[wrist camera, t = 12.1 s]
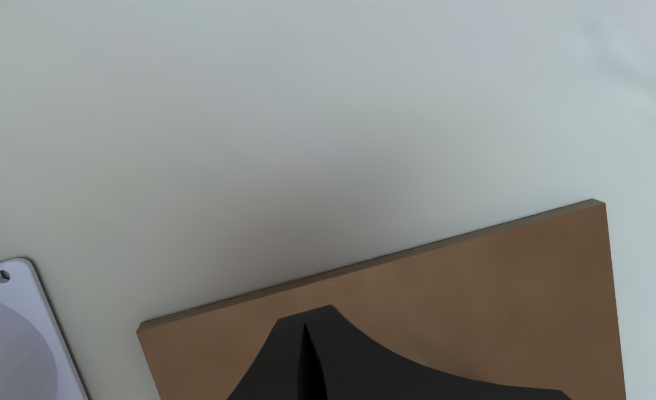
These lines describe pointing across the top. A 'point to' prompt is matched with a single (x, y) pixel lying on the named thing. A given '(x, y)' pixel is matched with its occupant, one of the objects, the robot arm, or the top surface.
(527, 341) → the square bronze board
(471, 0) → the top surface
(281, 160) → the top surface
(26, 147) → the top surface
